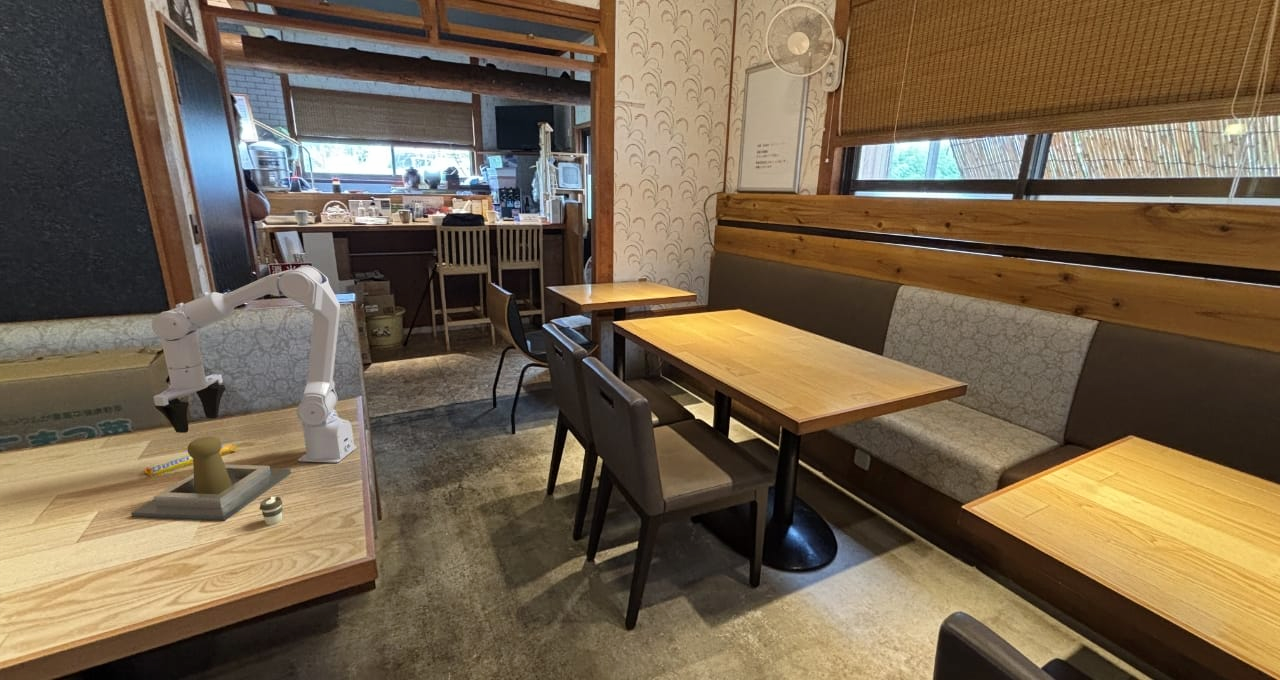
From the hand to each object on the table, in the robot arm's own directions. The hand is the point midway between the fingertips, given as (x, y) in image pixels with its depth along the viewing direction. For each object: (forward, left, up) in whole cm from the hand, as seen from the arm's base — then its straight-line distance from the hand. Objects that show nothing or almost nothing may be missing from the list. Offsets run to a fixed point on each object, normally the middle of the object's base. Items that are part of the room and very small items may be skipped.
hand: (197, 424), depth 114 cm
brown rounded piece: (-10, +10, -10) cm, 17 cm away
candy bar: (+6, -2, -11) cm, 13 cm away
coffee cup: (-29, +18, -11) cm, 36 cm away
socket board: (-11, +10, -10) cm, 18 cm away
